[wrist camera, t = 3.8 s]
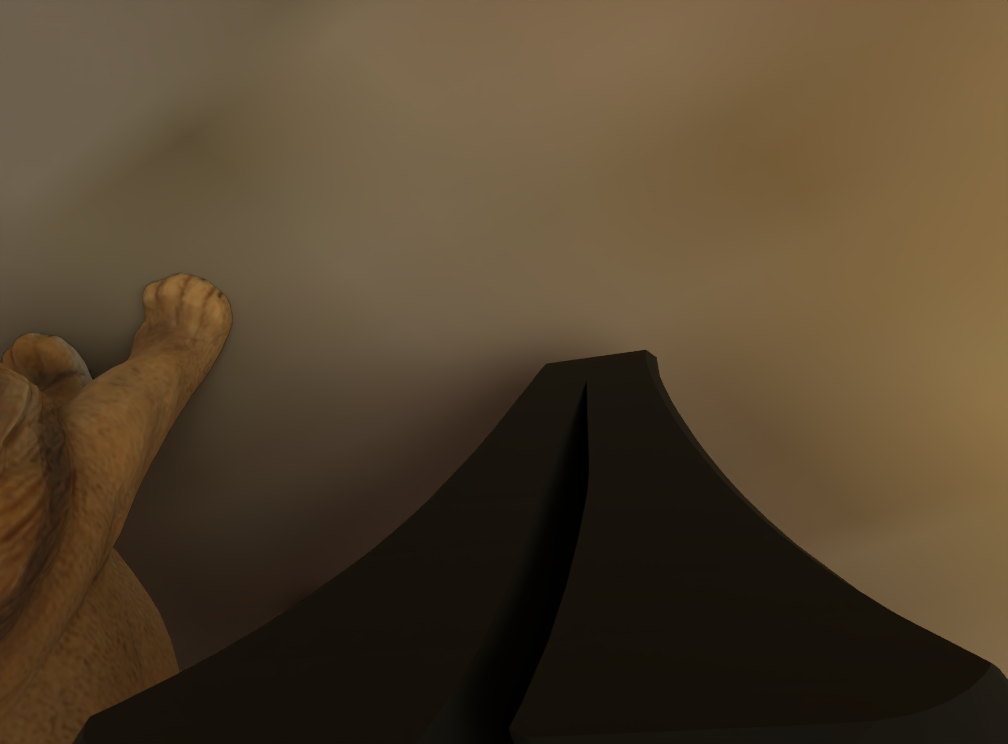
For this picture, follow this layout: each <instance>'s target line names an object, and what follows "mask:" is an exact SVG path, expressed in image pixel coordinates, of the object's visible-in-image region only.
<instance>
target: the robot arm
mask: <svg viewBox="0 0 1008 744" xmlns="http://www.w3.org/2000/svg"><path fill="white" fill-rule="evenodd" d="M72 744H1008V679H1007V678H1006V677H1005V675H1004V674H1003V673H1002V672H1001V670H1000V669H999V668H998V667H996V666H995V665H994V664H992V663H990V662H989V661H987V660H985V659H983V658H981V657H979V656H977V655H975V654H973V653H971V652H969V651H967V650H965V649H963V648H961V647H959V646H957V645H956V644H954V643H952V642H950V641H948V640H946V639H944V638H942V637H940V636H938V635H936V634H934V633H932V632H930V631H928V630H926V629H924V628H922V627H921V626H919V625H917V624H915V623H913V622H911V621H909V620H907V619H905V618H903V617H901V616H899V615H897V614H896V613H894V612H892V611H891V610H889V609H887V608H886V607H884V606H882V605H881V604H879V603H878V602H876V601H874V600H873V599H871V598H870V597H868V596H866V595H865V594H863V593H862V592H860V591H858V590H857V589H856V588H854V587H853V586H852V585H850V584H849V583H848V582H846V581H845V580H844V579H842V578H841V577H839V576H838V575H837V574H835V573H834V572H833V571H831V570H830V569H829V568H827V567H826V566H825V565H823V564H822V563H821V562H819V561H818V560H817V559H815V558H814V557H812V556H811V555H810V554H808V553H807V552H806V551H804V550H803V549H802V548H800V547H799V546H798V545H797V544H795V543H794V542H793V541H792V540H791V539H790V538H788V537H787V536H786V535H785V534H784V533H783V532H782V531H780V530H779V529H778V528H777V527H776V526H775V525H774V524H773V523H771V522H770V521H769V520H768V519H767V518H766V517H765V516H764V515H763V514H762V513H761V512H760V511H759V510H758V509H757V508H756V507H755V506H754V505H752V504H751V503H750V502H749V501H748V500H747V499H746V498H745V497H744V496H743V495H742V493H741V492H740V491H739V490H738V489H737V488H736V487H735V486H734V485H733V484H732V483H731V482H730V480H729V479H728V478H727V477H726V476H725V475H724V474H723V472H722V471H721V470H720V469H719V468H718V466H717V465H716V464H715V463H714V461H713V460H712V459H711V458H710V457H709V455H708V454H707V453H706V452H705V450H704V449H703V448H702V446H701V445H700V444H699V442H698V441H697V440H696V438H695V437H694V435H693V434H692V432H691V431H690V429H689V428H688V426H687V425H686V423H685V422H684V420H683V419H682V417H681V416H680V414H679V413H678V411H677V409H676V408H675V406H674V404H673V403H672V401H671V399H670V397H669V395H668V393H667V391H666V389H665V387H664V385H663V383H662V380H661V378H660V375H659V369H658V363H657V357H655V356H654V355H652V354H651V353H650V352H648V351H647V350H641V351H634V352H627V353H620V354H613V355H606V356H599V357H592V358H584V359H577V360H570V361H563V362H556V363H549V364H546V365H545V366H544V367H543V368H542V369H541V370H540V372H539V373H538V374H537V375H536V377H535V378H534V379H533V381H532V382H531V383H530V384H529V386H528V387H527V388H526V389H525V391H524V392H523V393H522V394H521V396H520V397H519V398H518V399H517V401H516V402H515V403H514V405H513V406H512V407H511V408H510V410H509V411H508V412H507V413H506V415H505V416H504V417H503V418H502V420H501V421H500V422H499V423H498V425H497V426H496V427H495V428H494V429H493V431H492V432H491V433H490V434H489V435H488V437H487V438H486V439H485V440H484V441H483V443H482V444H481V445H480V446H479V447H478V448H477V450H476V451H475V452H474V453H473V454H472V455H471V456H470V457H469V458H468V459H467V460H466V461H465V462H464V463H463V464H462V466H461V467H460V468H459V469H458V470H457V471H456V472H455V473H454V474H453V475H452V476H451V477H450V478H449V479H448V480H447V481H446V483H445V484H444V485H443V486H442V487H441V488H440V489H439V490H438V491H437V492H436V493H435V494H434V495H433V496H432V497H431V498H430V499H429V500H428V501H427V502H426V503H425V504H424V505H423V506H422V507H421V508H420V509H419V510H418V511H416V512H415V513H414V514H413V515H412V516H411V517H410V518H409V519H408V520H407V521H406V522H404V523H403V524H402V525H401V526H400V527H399V528H397V529H396V530H395V531H394V532H393V533H392V534H390V535H389V536H388V537H387V538H386V539H384V540H383V541H382V542H381V543H380V544H379V545H377V546H376V547H375V548H374V549H372V550H371V551H370V552H369V553H367V554H366V555H365V556H364V557H362V558H361V559H360V560H358V561H357V562H355V563H354V564H353V565H351V566H350V567H349V568H347V569H346V570H344V571H343V572H342V573H340V574H339V575H337V576H336V577H335V578H333V579H332V580H331V581H329V582H328V583H326V584H325V585H324V586H322V587H321V588H320V589H318V590H317V591H315V592H314V593H313V594H311V595H310V596H309V597H307V598H306V599H304V600H303V601H301V602H300V603H298V604H297V605H295V606H294V607H292V608H291V609H289V610H288V611H286V612H284V613H283V614H281V615H280V616H278V617H276V618H275V619H273V620H272V621H270V622H269V623H267V624H265V625H264V626H262V627H261V628H259V629H257V630H256V631H254V632H252V633H250V634H249V635H247V636H245V637H244V638H242V639H240V640H238V641H237V642H235V643H233V644H232V645H230V646H228V647H226V648H225V649H223V650H221V651H220V652H218V653H216V654H214V655H212V656H210V657H209V658H207V659H205V660H203V661H201V662H199V663H198V664H196V665H194V666H192V667H190V668H188V669H186V670H184V671H182V672H180V673H178V674H176V675H174V676H172V677H170V678H168V679H166V680H164V681H162V682H160V683H158V684H156V685H154V686H152V687H150V688H148V689H146V690H144V691H142V692H140V693H138V694H136V695H134V696H132V697H130V698H128V699H126V700H124V701H122V702H120V703H118V704H116V705H114V706H112V707H109V708H107V709H105V710H103V711H101V712H99V713H96V714H94V715H92V716H90V717H89V718H88V720H87V721H86V723H85V724H84V726H83V727H82V729H81V731H80V732H79V734H78V735H77V737H76V738H75V740H74V742H73V743H72Z"/></svg>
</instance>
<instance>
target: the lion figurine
mask: <svg viewBox="0 0 1008 744" xmlns="http://www.w3.org/2000/svg"><path fill="white" fill-rule="evenodd" d="M143 305H144V309H145V315H146V320H145V321H144V323H143V324H142V325H141V327H140V328H139V330H138V331H137V333H136V334H135V338H134V341H133V344H132V348H131V352H130V357H129V358H128V359H127V361H125V362H124V363H122V364H120V365H117V366H115V367H113V368H111V369H109V370H108V371H106V372H105V373H103V374H101V375H100V376H98V377H97V378H95V379H92V377H91V375H90V373H89V371H88V368H87V366H86V364H85V362H84V360H83V359H82V358H81V356H80V355H79V354H78V352H77V351H76V350H75V349H74V348H73V347H72V346H70V345H69V344H68V343H67V342H66V341H64V340H63V339H62V338H60V337H57V336H50V335H43V334H36V333H28V334H26V335H23V336H20V337H19V338H18V339H17V340H16V341H15V343H14V345H13V347H12V348H10V349H9V350H8V351H6V353H5V354H4V355H3V360H2V363H0V744H72V743H73V742H74V740H75V738H76V737H77V735H78V734H79V732H80V731H81V729H82V727H83V726H84V724H85V723H86V721H87V720H88V718H89V717H90V716H92V715H94V714H96V713H99V712H101V711H103V710H105V709H107V708H109V707H112V706H114V705H116V704H118V703H120V702H122V701H124V700H126V699H128V698H130V697H132V696H134V695H136V694H138V693H140V692H142V691H144V690H146V689H148V688H150V687H152V686H154V685H156V684H158V683H160V682H162V681H164V680H166V679H168V678H170V677H172V676H174V675H176V674H178V673H180V672H179V668H178V664H177V661H176V657H175V653H174V649H173V645H172V642H171V639H170V636H169V634H168V632H167V629H166V627H165V624H164V622H163V620H162V617H161V615H160V613H159V611H158V609H157V608H156V606H155V605H154V603H153V601H152V600H151V598H150V596H149V595H148V593H147V592H146V590H145V589H144V588H143V586H142V585H141V583H140V582H139V580H138V579H137V577H136V576H135V574H134V573H133V571H132V570H131V569H130V568H129V566H128V565H127V564H126V563H125V562H124V560H123V559H122V558H121V557H120V555H119V554H118V552H117V551H116V550H115V549H114V548H113V545H114V544H115V542H116V540H117V539H118V537H119V535H120V533H121V531H122V528H123V526H124V523H125V521H126V518H127V516H128V513H129V511H130V508H131V506H132V503H133V501H134V498H135V496H136V493H137V491H138V489H139V487H140V485H141V482H142V480H143V478H144V476H145V474H146V472H147V470H148V468H149V466H150V464H151V462H152V461H153V459H154V457H155V456H156V454H157V453H158V451H159V449H160V447H161V445H162V443H163V441H164V439H165V437H166V435H167V434H168V432H169V430H170V428H171V427H172V425H173V423H174V422H175V420H176V418H177V417H178V415H179V414H180V412H181V411H182V409H183V408H184V406H185V405H186V403H187V402H188V400H189V399H190V397H191V396H192V394H193V393H194V391H195V390H196V388H197V387H198V386H199V384H200V383H201V382H202V381H203V379H204V378H205V376H206V375H207V373H208V372H209V370H210V369H211V367H212V366H213V364H214V362H215V360H216V358H217V357H218V355H219V353H220V351H221V349H222V347H223V345H224V343H225V341H226V338H227V336H228V334H229V331H230V328H231V325H232V313H231V308H230V305H229V302H228V300H227V298H226V296H225V295H224V294H222V293H221V292H220V291H219V290H218V289H216V288H215V287H214V286H213V285H212V284H210V283H209V282H208V281H206V280H205V279H202V278H199V277H196V276H194V275H189V274H184V273H177V274H173V275H171V276H170V277H168V278H166V279H164V280H161V281H157V282H153V283H151V284H149V285H148V286H146V288H145V290H144V293H143Z"/></svg>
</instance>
